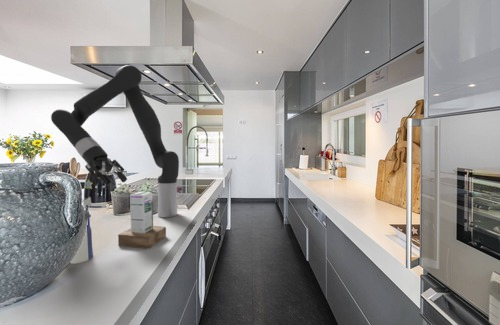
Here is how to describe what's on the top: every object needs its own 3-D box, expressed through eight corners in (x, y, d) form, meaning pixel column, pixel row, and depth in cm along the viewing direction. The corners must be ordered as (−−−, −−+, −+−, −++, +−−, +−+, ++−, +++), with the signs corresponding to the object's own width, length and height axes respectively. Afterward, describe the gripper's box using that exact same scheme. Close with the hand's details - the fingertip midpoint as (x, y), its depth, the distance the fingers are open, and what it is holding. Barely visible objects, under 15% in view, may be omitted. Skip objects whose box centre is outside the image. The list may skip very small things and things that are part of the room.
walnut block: (139, 234, 105) (138, 224, 104) (165, 236, 102) (165, 226, 102) (118, 245, 93) (118, 234, 93) (148, 248, 91) (148, 237, 90)
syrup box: (144, 233, 94) (144, 194, 93) (130, 232, 95) (129, 193, 94) (153, 228, 99) (153, 191, 98) (139, 227, 100) (139, 191, 99)
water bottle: (71, 253, 86) (69, 178, 84) (98, 252, 87) (96, 178, 85) (55, 264, 78) (53, 182, 76) (86, 263, 79) (84, 182, 77)
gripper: (81, 144, 92) (110, 178, 90) (110, 145, 106) (135, 173, 104) (69, 159, 93) (97, 192, 92) (99, 157, 107) (124, 186, 106)
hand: (117, 182), depth 98 cm, fingers open, 8 cm apart
